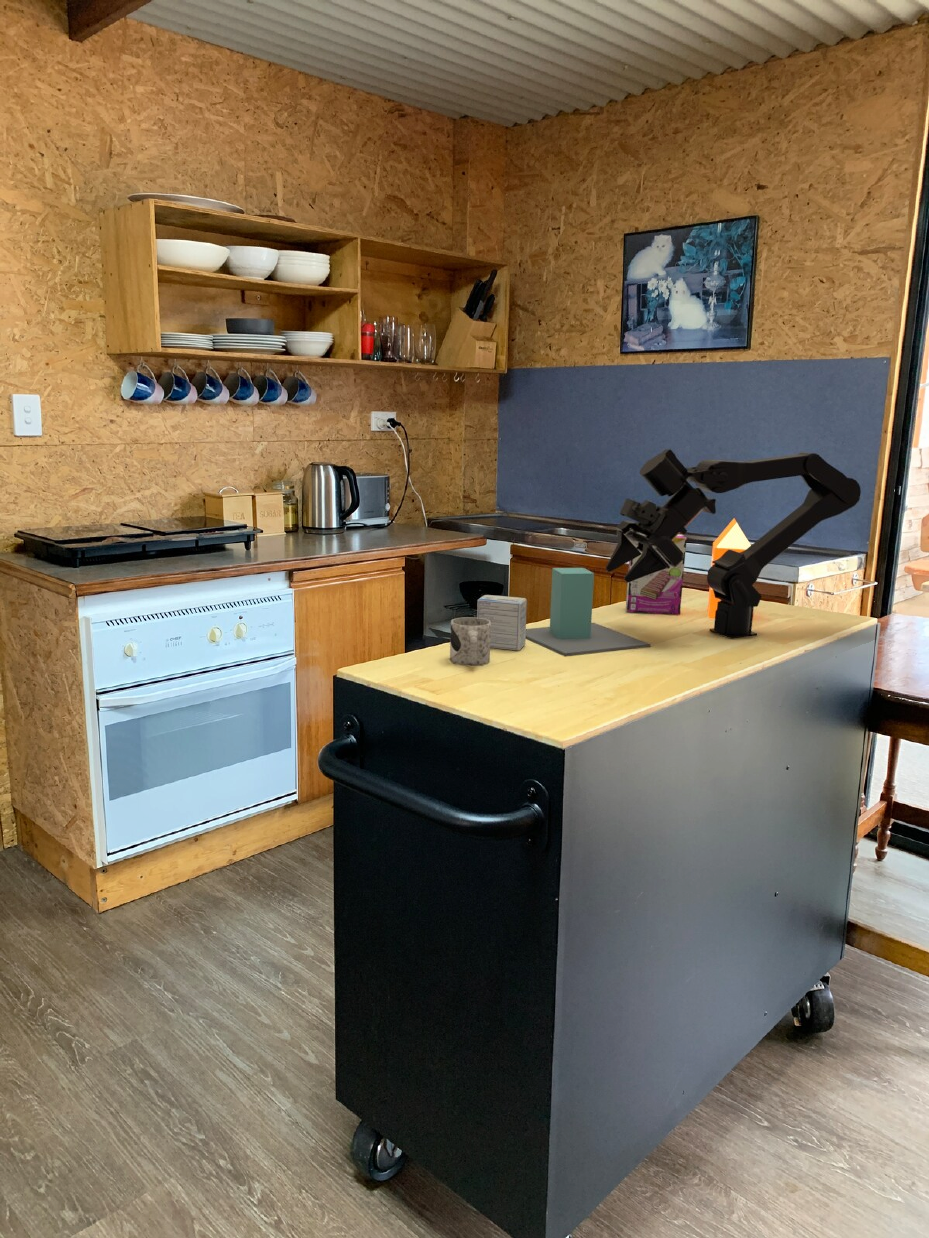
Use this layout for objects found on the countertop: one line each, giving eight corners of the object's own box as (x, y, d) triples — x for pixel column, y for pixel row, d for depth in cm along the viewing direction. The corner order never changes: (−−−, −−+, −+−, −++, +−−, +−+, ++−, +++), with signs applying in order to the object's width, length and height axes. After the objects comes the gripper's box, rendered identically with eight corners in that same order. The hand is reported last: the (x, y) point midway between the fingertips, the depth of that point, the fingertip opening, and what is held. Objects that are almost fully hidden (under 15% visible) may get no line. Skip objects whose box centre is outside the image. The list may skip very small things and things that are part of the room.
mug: (448, 655, 157) (449, 617, 156) (487, 655, 158) (489, 617, 156) (452, 671, 147) (453, 631, 146) (493, 671, 148) (495, 631, 146)
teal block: (580, 630, 175) (583, 567, 172) (590, 638, 169) (594, 573, 166) (549, 631, 173) (552, 568, 171) (558, 639, 168) (561, 573, 165)
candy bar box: (626, 613, 193) (631, 534, 190) (625, 608, 198) (630, 531, 195) (681, 615, 192) (687, 536, 189) (678, 610, 197) (684, 533, 194)
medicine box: (525, 645, 165) (527, 598, 163) (519, 651, 161) (520, 602, 159) (483, 641, 167) (484, 594, 165) (475, 646, 163) (477, 598, 161)
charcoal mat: (593, 625, 182) (593, 622, 182) (650, 646, 166) (650, 643, 166) (513, 632, 174) (513, 630, 174) (565, 656, 158) (565, 653, 158)
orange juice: (708, 618, 191) (716, 520, 186) (706, 609, 199) (714, 516, 195) (747, 620, 189) (756, 522, 185) (744, 612, 197) (753, 518, 193)
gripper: (629, 477, 176) (571, 536, 176) (671, 489, 158) (606, 555, 159) (665, 518, 179) (608, 576, 180) (710, 534, 162) (646, 598, 162)
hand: (616, 575), depth 170 cm, fingers open, 9 cm apart
